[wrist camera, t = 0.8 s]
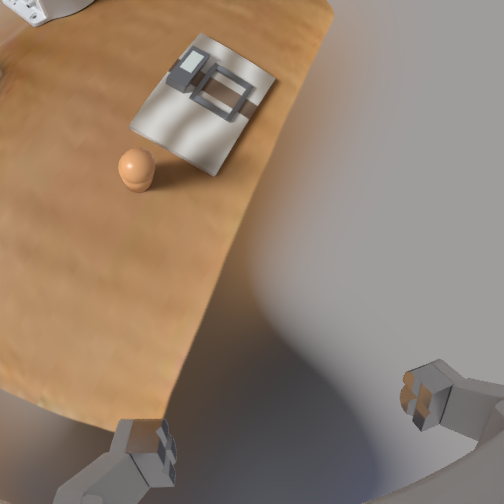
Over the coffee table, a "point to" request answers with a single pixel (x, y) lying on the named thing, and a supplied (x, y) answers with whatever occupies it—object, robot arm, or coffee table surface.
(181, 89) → the block
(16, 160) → the coffee table surface
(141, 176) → the tan rounded rod
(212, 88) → the metal mounting plate
